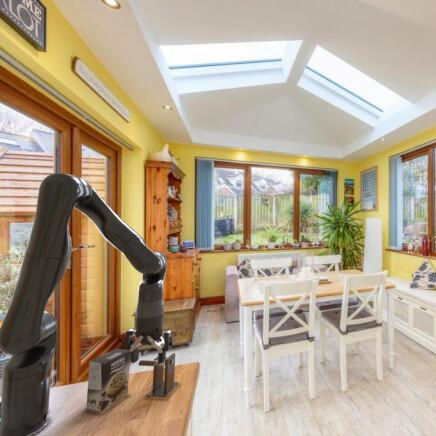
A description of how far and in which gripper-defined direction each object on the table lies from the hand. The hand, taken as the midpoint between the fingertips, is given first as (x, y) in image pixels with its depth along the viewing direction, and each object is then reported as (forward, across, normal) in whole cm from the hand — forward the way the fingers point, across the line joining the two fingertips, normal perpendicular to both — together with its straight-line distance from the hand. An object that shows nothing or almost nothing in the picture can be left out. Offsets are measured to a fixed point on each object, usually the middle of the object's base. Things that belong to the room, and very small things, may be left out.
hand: (148, 362), depth 85 cm
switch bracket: (+15, 0, +9) cm, 18 cm away
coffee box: (+16, -14, +2) cm, 21 cm away
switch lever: (+4, 0, +4) cm, 6 cm away
